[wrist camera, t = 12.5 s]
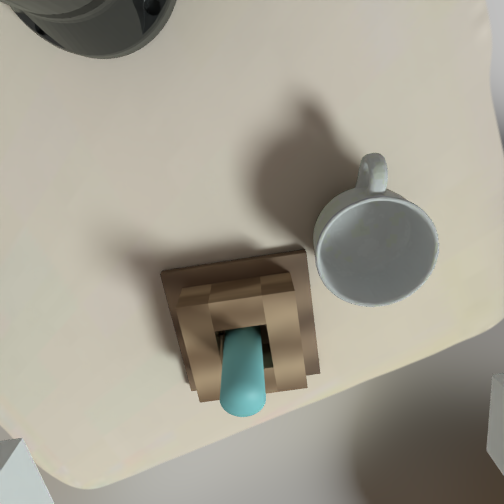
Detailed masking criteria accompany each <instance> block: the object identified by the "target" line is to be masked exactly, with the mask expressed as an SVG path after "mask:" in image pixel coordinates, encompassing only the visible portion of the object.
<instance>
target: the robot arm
mask: <svg viewBox="0 0 504 504" xmlns="http://www.w3.org/2000/svg"><path fill="white" fill-rule="evenodd" d="M0 2H3V3H5V4H8V5H10V7H11V8H12V9H13V11H14V12H15V13H16V14H17V15H18V17H19V18H20V19H21V20H22V21H23V22H24V23H25V24H26V25H27V26H28V27H29V28H30V29H31V30H33V31H34V32H35V33H36V34H37V35H39V36H40V37H42V38H43V39H44V40H46V41H48V42H49V43H51V44H53V45H54V46H56V47H58V48H61V49H63V50H65V51H68V52H71V53H74V54H78V55H81V56H85V57H90V58H97V59H111V58H118V57H122V56H125V55H128V54H131V53H133V52H135V51H137V50H139V49H141V48H142V47H144V46H145V45H147V44H148V43H149V42H150V41H152V40H153V39H154V38H155V37H156V36H157V35H158V34H159V32H160V31H161V30H162V29H163V27H164V26H165V24H166V23H167V21H168V19H169V17H170V15H171V13H172V11H173V9H174V6H175V3H176V0H0ZM487 452H488V453H489V455H490V456H491V458H492V459H493V461H494V462H495V464H496V465H497V467H498V468H499V469H500V471H501V472H502V474H503V475H504V373H501V374H493V375H492V387H491V399H490V412H489V425H488V438H487ZM0 504H54V502H53V499H52V497H51V496H50V493H49V491H48V489H47V487H46V485H45V483H44V481H43V479H42V477H41V475H40V473H39V471H38V469H37V467H36V465H35V462H34V460H33V458H32V456H31V454H30V452H29V450H28V448H27V446H26V444H25V442H24V440H23V438H18V439H11V440H4V441H0Z"/></svg>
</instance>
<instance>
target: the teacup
mask: <svg viewBox="0 0 504 504" xmlns="http://www.w3.org/2000/svg"><path fill="white" fill-rule="evenodd" d="M387 178H388V171H387V164H386V161H385V158H384V157H383V156H382V155H381V154H379V153H371V154H367V155H365V156H364V157H363V158H362V160H361V163H360V167H359V172H358V179H357V183H356V187H355V188H353V189H350V190H347V191H345V192H343V193H341V194H339V195H337V196H336V197H335V198H333V199H332V200H331V201H330V202H329V203H328V204H327V205H326V206H325V207H324V209H323V210H322V211H321V213H320V215H319V217H318V219H317V221H316V224H315V228H314V234H313V245H314V252H315V259H316V267H317V270H318V273H319V276H320V278H321V280H322V281H323V283H324V285H325V286H326V287H327V288H328V289H329V290H330V291H331V292H332V293H333V294H334V295H335V296H337V297H338V298H340V299H342V300H344V301H346V302H348V303H351V304H355V305H359V306H366V307H377V306H385V305H390V304H393V303H395V302H398V301H401V300H403V299H405V298H406V297H408V296H410V295H411V294H413V293H414V292H415V291H416V290H418V289H419V288H420V287H421V286H422V285H423V284H424V283H425V282H426V280H427V279H428V277H429V276H430V274H431V273H432V271H433V269H434V267H435V264H436V262H437V258H438V253H439V243H438V234H437V231H436V228H435V226H434V223H433V222H432V220H431V219H430V218H429V216H428V215H427V214H426V213H425V212H424V211H423V210H422V209H421V208H420V207H418V206H417V205H415V204H414V203H412V202H409V201H408V200H406V199H405V198H403V197H402V196H400V195H399V194H397V193H395V192H393V191H391V190H388V189H386V186H387Z"/></svg>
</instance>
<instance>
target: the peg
mask: <svg viewBox="0 0 504 504" xmlns="http://www.w3.org/2000/svg"><path fill="white" fill-rule="evenodd" d="M265 401H266V392H265V380H264V367H263V354H262V342H261V329H260V325H257V326H250V327H243V328H236V329H229V330H225V337H224V350H223V362H222V375H221V388H220V403H221V406H222V407H223V409H224V410H225V411H226V412H228V413H229V414H231V415H234V416H239V417H247V416H251V415H254V414H256V413H257V412H259V411H260V410H261V409H262V408H263V406H264V404H265Z"/></svg>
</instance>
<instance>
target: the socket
mask: <svg viewBox="0 0 504 504" xmlns="http://www.w3.org/2000/svg"><path fill="white" fill-rule="evenodd" d="M160 275H161V279H162V283H163V286H164V290H165V294H166V298H167V301H168V305H169V309H170V313H171V316H172V320H173V324H174V328H175V331H176V335H177V339H178V343H179V346H180V350H181V354H182V358H183V361H184V365H185V369H186V373H187V376H188V380H189V384H190V388H191V391H196V390H197V393H198V397H199V401H200V402H207V401H214V400H220V388H221V375H222V362H223V350H224V337H225V330H229V329H236V328H243V327H250V326H257V325H260V329H261V342H262V354H263V367H264V380H265V392H266V393H273V392H280V391H288V390H295V389H302V388H308V387H307V380H306V375H313V374H320V367H319V358H318V349H317V341H316V332H315V324H314V315H313V306H312V298H311V289H310V281H309V272H308V263H307V255H306V251H305V249H303V250H297V251H290V252H283V253H277V254H270V255H264V256H257V257H250V258H244V259H237V260H231V261H224V262H217V263H211V264H204V265H198V266H191V267H185V268H178V269H171V270H165V271H162V272H161V274H160Z"/></svg>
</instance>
